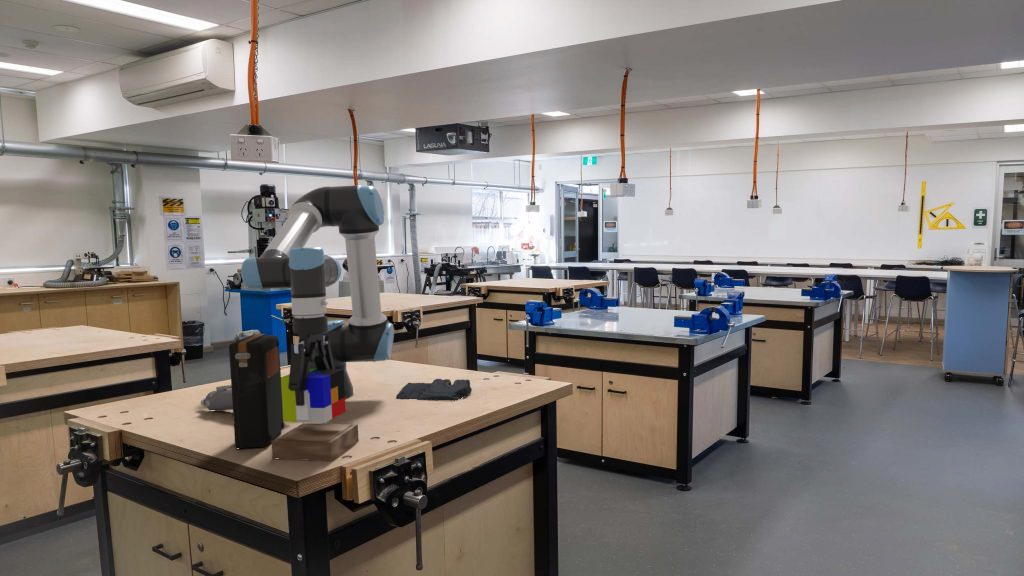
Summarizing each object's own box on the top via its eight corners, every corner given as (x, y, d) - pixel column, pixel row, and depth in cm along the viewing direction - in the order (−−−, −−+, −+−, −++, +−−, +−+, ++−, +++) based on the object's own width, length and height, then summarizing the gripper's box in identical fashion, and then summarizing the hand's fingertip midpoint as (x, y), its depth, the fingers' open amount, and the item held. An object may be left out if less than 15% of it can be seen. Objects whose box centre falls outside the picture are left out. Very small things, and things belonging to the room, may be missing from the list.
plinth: (304, 439, 153) (303, 422, 153) (358, 440, 151) (357, 423, 150) (272, 459, 139) (271, 440, 139) (331, 460, 137) (330, 441, 137)
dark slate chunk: (411, 389, 206) (410, 374, 206) (476, 390, 201) (475, 376, 201) (391, 400, 191) (391, 385, 191) (461, 402, 186) (460, 386, 186)
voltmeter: (252, 431, 162) (246, 334, 160) (287, 429, 162) (281, 332, 161) (230, 451, 146) (223, 343, 144) (269, 449, 147) (262, 342, 145)
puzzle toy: (324, 423, 139) (322, 377, 138) (283, 422, 140) (280, 377, 140) (345, 411, 148) (343, 368, 148) (306, 410, 150) (304, 368, 150)
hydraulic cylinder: (286, 416, 166) (280, 379, 166) (196, 425, 183) (190, 391, 183) (307, 409, 173) (301, 373, 173) (218, 418, 190) (212, 385, 190)
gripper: (299, 321, 131) (305, 427, 133) (347, 310, 153) (351, 401, 155) (266, 322, 132) (272, 426, 134) (318, 310, 155) (323, 400, 156)
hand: (315, 412), depth 144 cm, fingers closed on puzzle toy, 10 cm apart
